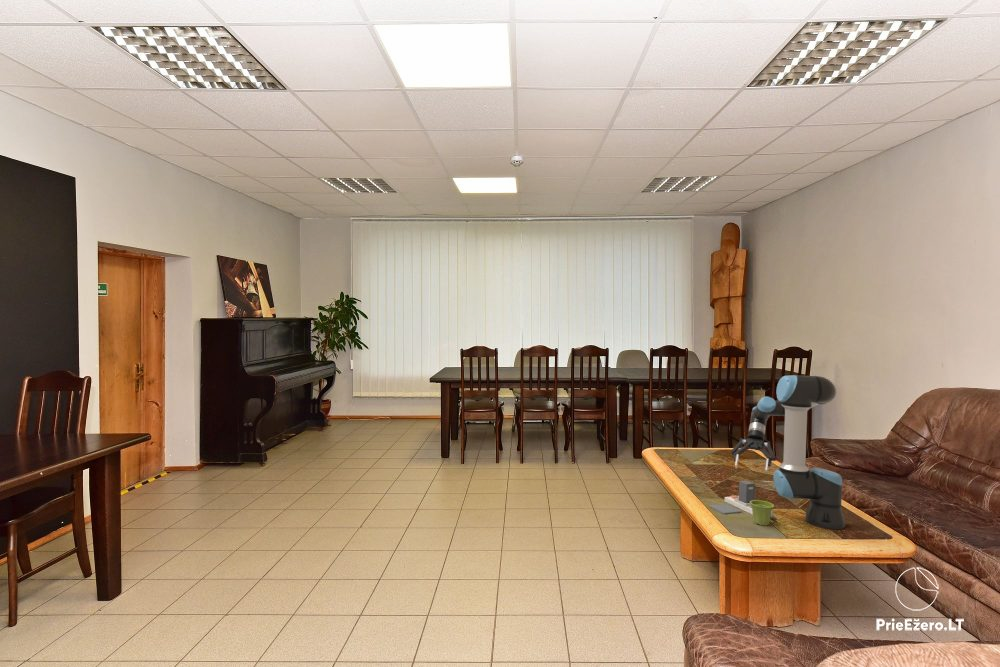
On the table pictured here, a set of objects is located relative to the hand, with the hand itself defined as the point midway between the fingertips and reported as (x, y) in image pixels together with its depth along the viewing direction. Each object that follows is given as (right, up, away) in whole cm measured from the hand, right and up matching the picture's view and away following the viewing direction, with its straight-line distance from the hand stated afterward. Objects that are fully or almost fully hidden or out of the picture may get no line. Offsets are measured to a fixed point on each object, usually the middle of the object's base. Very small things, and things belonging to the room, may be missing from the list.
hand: (750, 469), depth 265 cm
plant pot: (-8, -17, -28) cm, 34 cm away
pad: (-18, -16, -12) cm, 27 cm away
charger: (-6, -14, -9) cm, 18 cm away
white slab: (-5, -16, -12) cm, 21 cm away
